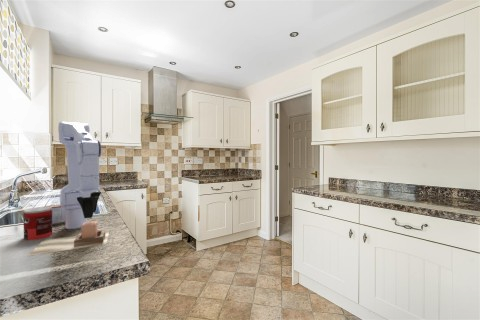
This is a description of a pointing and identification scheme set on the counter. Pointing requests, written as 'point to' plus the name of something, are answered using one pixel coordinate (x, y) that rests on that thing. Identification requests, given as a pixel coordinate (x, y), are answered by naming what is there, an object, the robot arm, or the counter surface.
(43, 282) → the counter surface
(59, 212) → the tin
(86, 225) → the block
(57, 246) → the board
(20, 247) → the counter surface
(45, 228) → the canned food
